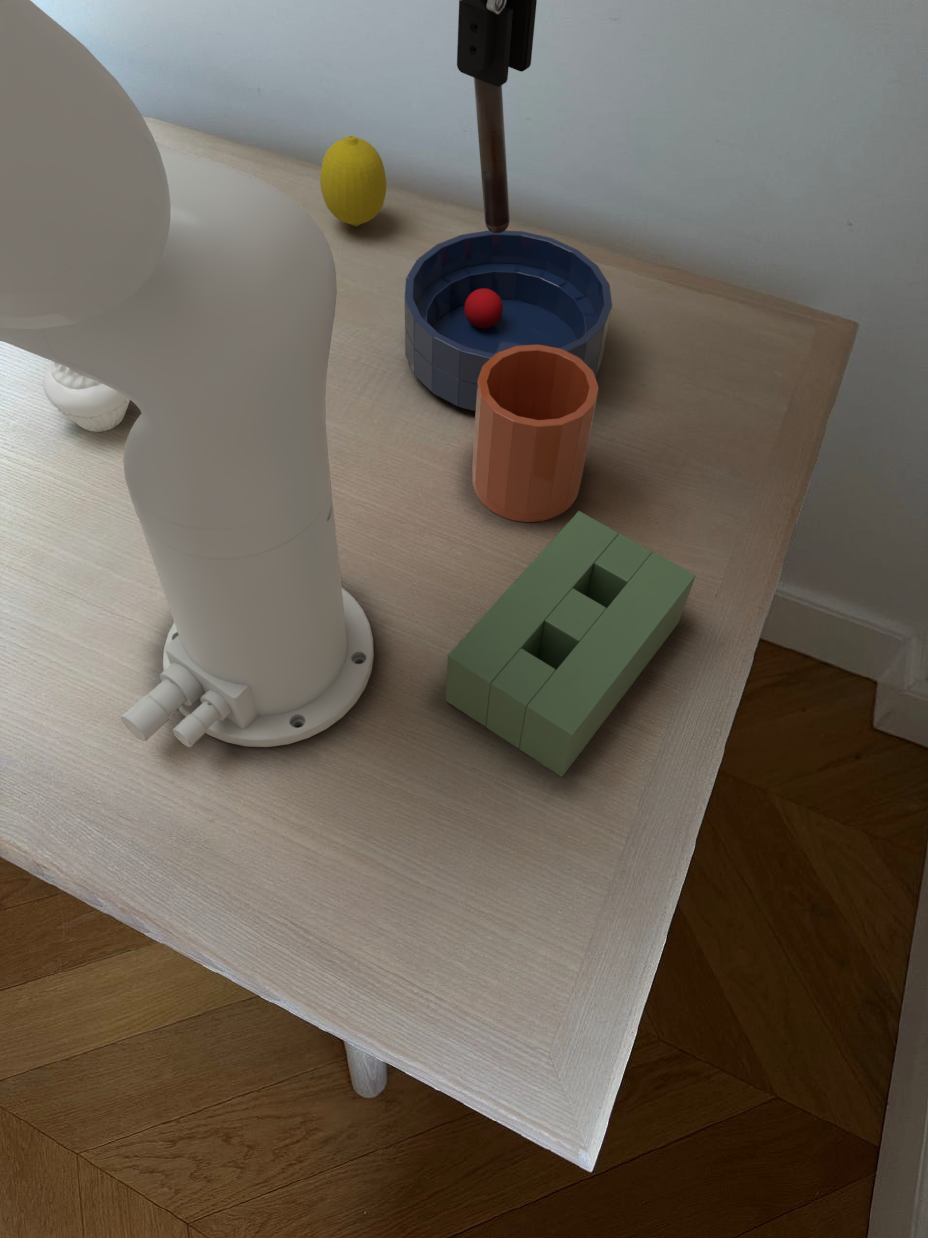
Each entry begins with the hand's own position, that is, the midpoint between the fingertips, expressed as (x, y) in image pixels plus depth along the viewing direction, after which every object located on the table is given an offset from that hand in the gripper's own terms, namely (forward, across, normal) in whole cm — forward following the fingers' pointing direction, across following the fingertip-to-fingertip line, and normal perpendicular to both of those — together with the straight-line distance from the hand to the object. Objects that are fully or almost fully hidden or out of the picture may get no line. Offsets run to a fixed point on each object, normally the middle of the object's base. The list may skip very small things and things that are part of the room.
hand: (493, 67), depth 58 cm
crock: (+24, -6, -9) cm, 26 cm away
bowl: (+23, +4, 0) cm, 24 cm away
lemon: (+24, +10, +20) cm, 33 cm away
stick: (+10, 0, -1) cm, 10 cm away
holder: (+24, -17, -19) cm, 35 cm away
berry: (+21, +5, +3) cm, 22 cm away
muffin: (+24, -20, +19) cm, 36 cm away
